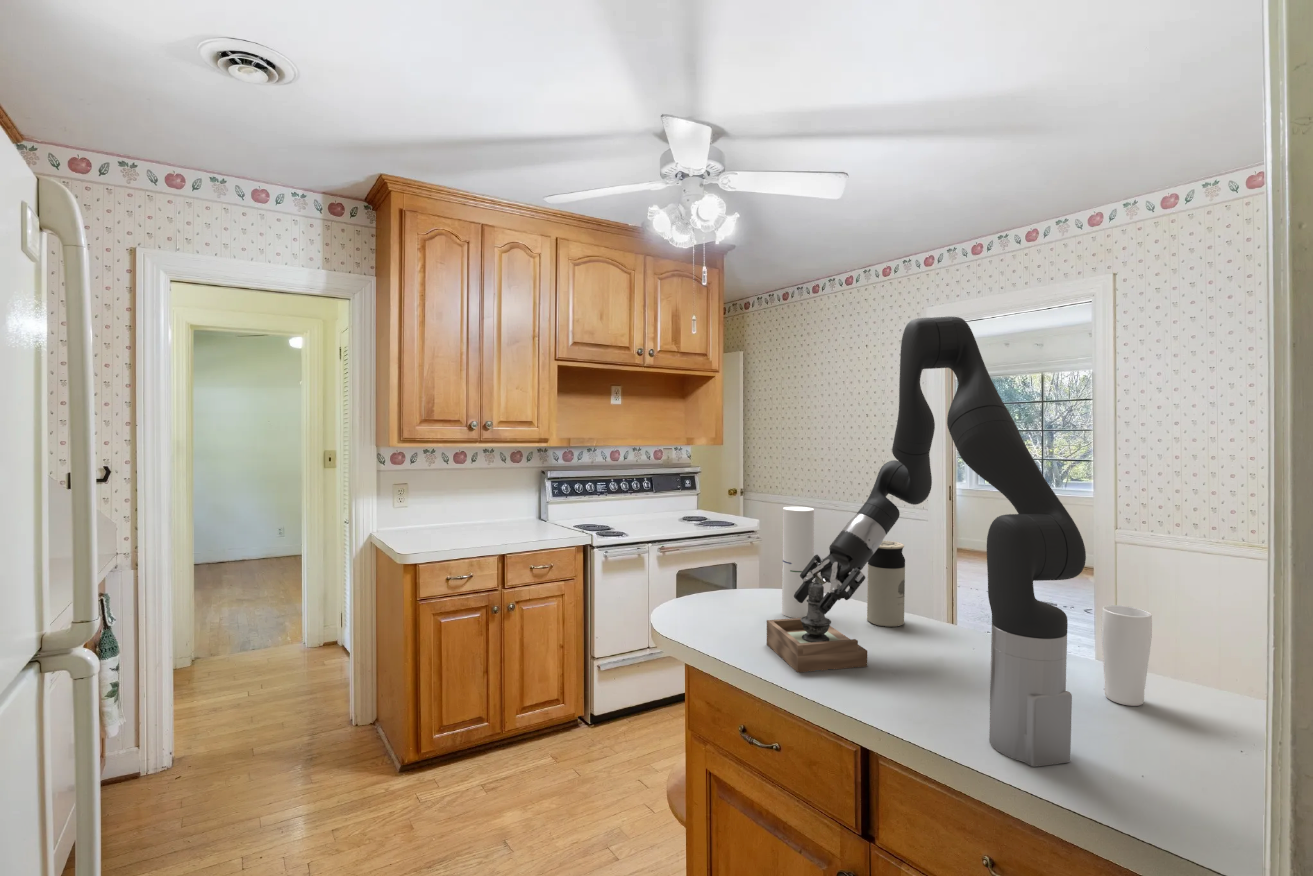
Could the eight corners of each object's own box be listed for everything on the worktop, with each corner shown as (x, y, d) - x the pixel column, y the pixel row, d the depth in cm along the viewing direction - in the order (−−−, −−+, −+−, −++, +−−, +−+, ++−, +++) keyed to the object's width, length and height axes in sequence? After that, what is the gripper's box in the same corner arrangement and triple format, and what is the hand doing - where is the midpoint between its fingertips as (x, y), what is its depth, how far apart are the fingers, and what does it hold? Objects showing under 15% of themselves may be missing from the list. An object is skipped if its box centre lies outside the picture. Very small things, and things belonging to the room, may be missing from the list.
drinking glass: (1146, 697, 109) (1149, 608, 108) (1152, 713, 103) (1155, 619, 103) (1097, 688, 112) (1100, 602, 112) (1100, 703, 107) (1103, 612, 106)
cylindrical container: (794, 607, 159) (795, 505, 158) (819, 614, 154) (820, 509, 153) (775, 612, 155) (776, 508, 154) (799, 620, 149) (801, 511, 148)
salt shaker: (832, 644, 124) (832, 582, 124) (800, 642, 125) (801, 580, 125) (830, 634, 130) (830, 575, 130) (800, 632, 131) (800, 573, 131)
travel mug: (859, 620, 149) (860, 542, 148) (880, 614, 154) (881, 538, 153) (890, 630, 143) (891, 548, 142) (911, 623, 147) (912, 544, 147)
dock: (867, 666, 122) (867, 640, 122) (797, 672, 119) (798, 645, 119) (829, 639, 137) (829, 615, 136) (766, 644, 134) (766, 620, 133)
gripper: (824, 523, 136) (776, 584, 132) (871, 535, 123) (819, 603, 119) (845, 547, 139) (798, 607, 135) (893, 561, 125) (843, 628, 121)
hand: (808, 605), depth 127 cm, fingers open, 7 cm apart
